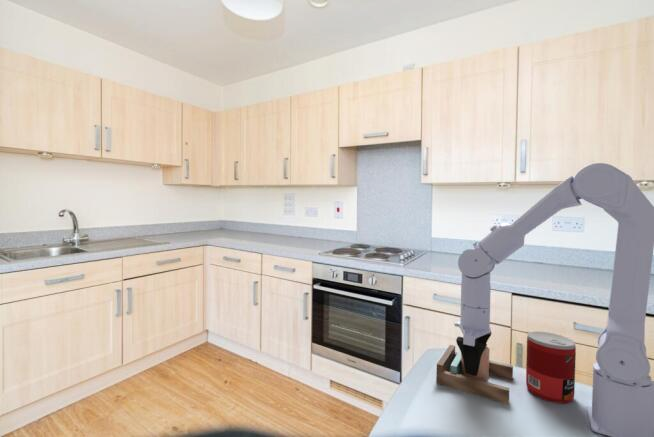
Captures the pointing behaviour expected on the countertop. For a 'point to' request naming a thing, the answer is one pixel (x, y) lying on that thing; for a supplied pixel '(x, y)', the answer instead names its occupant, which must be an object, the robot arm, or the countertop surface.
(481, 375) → the tan rounded cylinder
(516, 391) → the countertop surface
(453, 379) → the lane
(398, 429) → the countertop surface
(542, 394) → the canned food
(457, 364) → the plate
